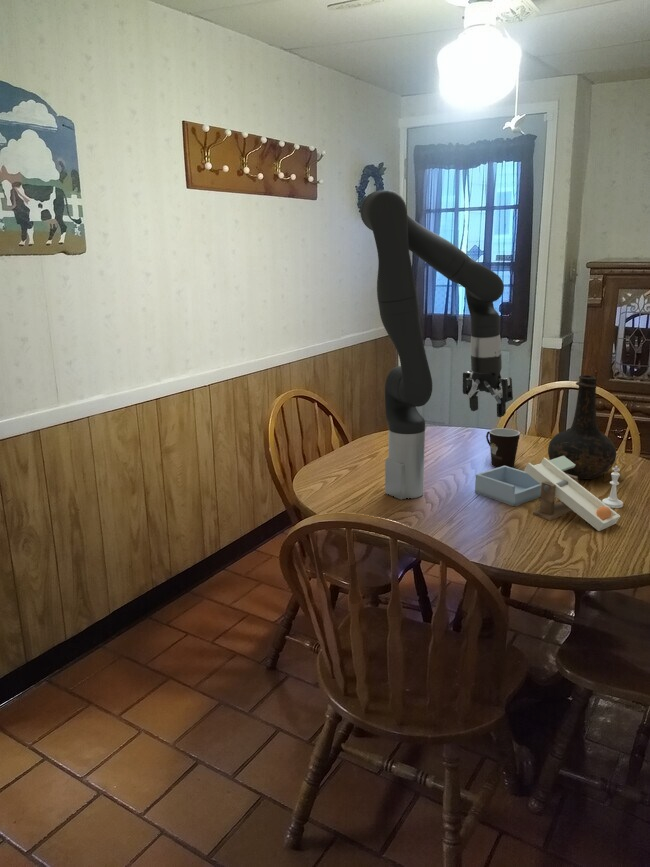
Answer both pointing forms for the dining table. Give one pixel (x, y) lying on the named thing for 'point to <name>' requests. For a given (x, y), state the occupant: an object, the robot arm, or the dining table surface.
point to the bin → (507, 485)
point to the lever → (571, 490)
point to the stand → (551, 502)
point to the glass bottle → (584, 437)
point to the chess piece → (613, 492)
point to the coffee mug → (503, 446)
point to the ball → (603, 512)
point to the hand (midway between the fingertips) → (487, 413)
